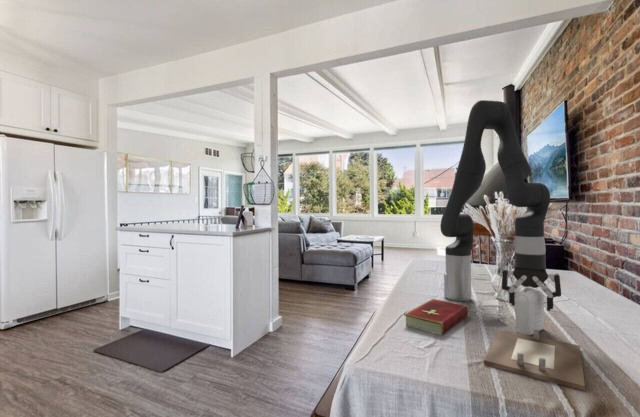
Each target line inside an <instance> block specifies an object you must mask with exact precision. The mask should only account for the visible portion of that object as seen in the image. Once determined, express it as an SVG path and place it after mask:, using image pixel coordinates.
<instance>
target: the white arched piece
mask: <svg viewBox="0 0 640 417" xmlns="http://www.w3.org/2000/svg"><path fill="white" fill-rule="evenodd" d="M503 307H504V305H503V304H502V303H501V302H500V300H499V299H490V300H489V299H488V300H484V301H481V303H480V305H478V308H479V309H478V310H477V311H476V313H475V315H476V316H477V317H480V318H479V321H481V320H482V319H483V318H484V317H483V316H484V312H483V310H482V309H483V308H498V310H497V314H498V315H499V316H497V318H498V319H499V320H500V321H501V322H503V320H502V318H503V317H505V316H507V315H506V314H505V312H504V311H503ZM480 312H481V313H482V315H479V313H480ZM500 312H501V313H502V314H501V313H500Z"/></svg>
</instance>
